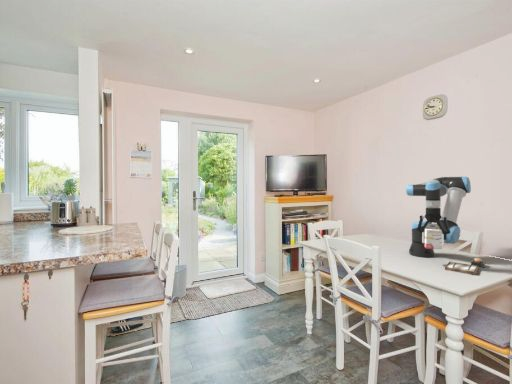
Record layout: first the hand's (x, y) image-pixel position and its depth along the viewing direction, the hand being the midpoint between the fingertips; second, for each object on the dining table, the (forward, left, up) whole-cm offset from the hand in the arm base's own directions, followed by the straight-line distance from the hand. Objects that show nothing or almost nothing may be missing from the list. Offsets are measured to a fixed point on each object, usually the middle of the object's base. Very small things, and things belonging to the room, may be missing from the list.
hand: (433, 243), depth 163 cm
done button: (+20, +16, -11) cm, 28 cm away
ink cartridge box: (0, 0, -3) cm, 3 cm away
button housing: (+20, +16, -13) cm, 29 cm away
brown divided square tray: (+14, +2, -13) cm, 19 cm away
